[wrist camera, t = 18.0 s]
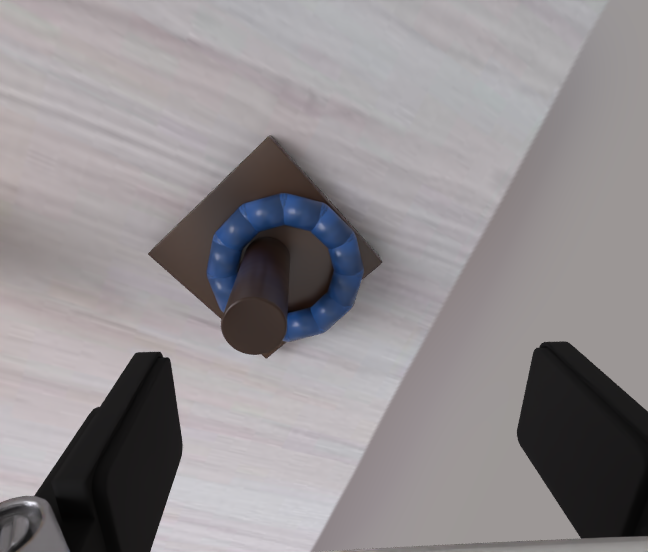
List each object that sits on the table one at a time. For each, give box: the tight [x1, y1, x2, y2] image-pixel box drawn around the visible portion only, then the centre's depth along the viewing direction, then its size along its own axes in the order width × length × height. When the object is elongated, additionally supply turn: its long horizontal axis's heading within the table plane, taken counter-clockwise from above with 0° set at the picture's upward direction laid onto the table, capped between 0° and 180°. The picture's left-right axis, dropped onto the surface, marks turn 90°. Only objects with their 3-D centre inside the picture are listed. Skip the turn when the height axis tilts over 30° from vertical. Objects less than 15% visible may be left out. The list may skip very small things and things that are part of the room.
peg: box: [148, 135, 382, 358], centre depth 18 cm, size 8×8×8 cm
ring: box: [207, 193, 364, 342], centre depth 21 cm, size 7×7×1 cm
